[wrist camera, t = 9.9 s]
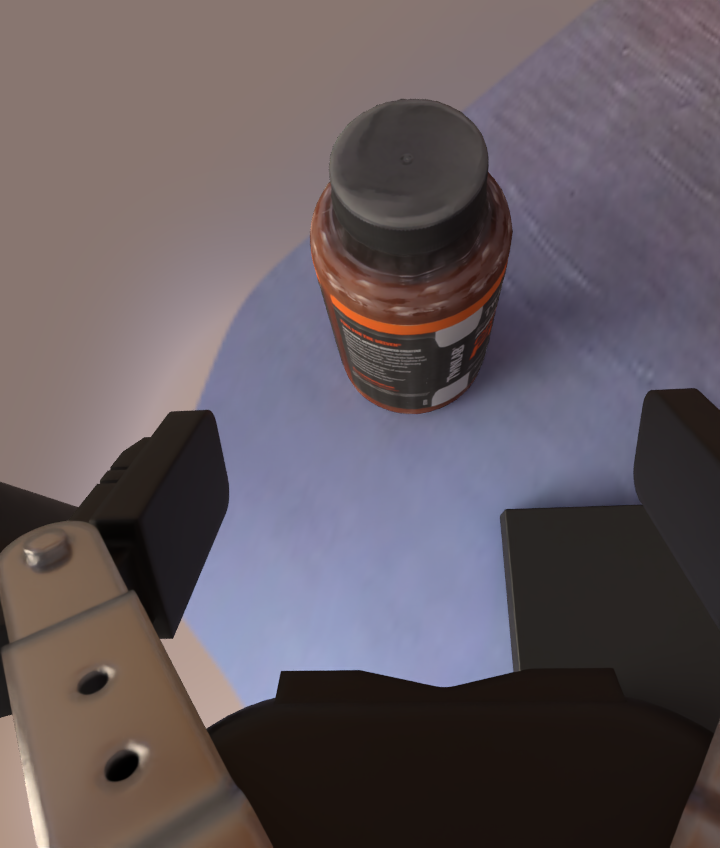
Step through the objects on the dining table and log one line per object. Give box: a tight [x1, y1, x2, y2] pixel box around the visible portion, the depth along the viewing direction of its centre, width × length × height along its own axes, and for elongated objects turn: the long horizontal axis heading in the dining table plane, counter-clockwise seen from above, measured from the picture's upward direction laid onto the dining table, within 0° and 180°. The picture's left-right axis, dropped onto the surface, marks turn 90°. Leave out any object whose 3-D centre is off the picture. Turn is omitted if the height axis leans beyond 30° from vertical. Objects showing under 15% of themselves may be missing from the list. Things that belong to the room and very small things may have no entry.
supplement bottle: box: [310, 99, 513, 414], centre depth 20 cm, size 6×6×11 cm
